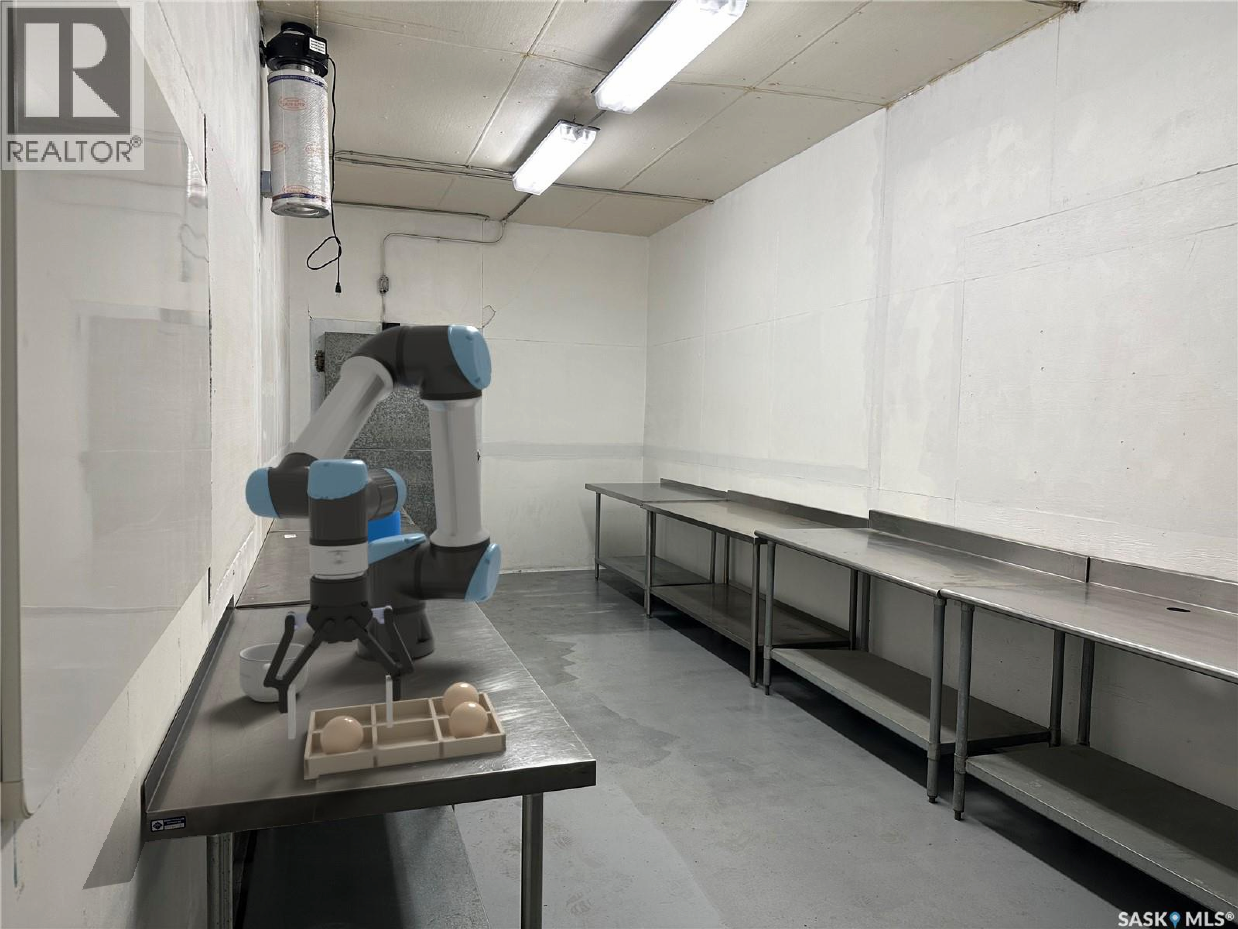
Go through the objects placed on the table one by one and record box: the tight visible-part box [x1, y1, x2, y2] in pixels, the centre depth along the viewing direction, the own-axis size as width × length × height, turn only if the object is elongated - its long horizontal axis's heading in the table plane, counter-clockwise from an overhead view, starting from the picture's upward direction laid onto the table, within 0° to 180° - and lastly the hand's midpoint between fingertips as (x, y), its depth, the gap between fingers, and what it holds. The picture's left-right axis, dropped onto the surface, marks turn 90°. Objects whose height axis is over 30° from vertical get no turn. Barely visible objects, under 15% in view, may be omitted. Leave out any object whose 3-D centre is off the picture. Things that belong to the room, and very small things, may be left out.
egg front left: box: [449, 702, 488, 739], centre depth 112 cm, size 6×6×6 cm
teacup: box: [238, 642, 310, 703], centre depth 129 cm, size 14×11×8 cm
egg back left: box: [442, 681, 479, 716], centre depth 120 cm, size 6×6×6 cm
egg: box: [320, 716, 363, 755], centre depth 106 cm, size 6×6×6 cm
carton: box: [303, 691, 507, 781], centre depth 113 cm, size 18×26×3 cm
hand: (341, 729), depth 106 cm, fingers open, 12 cm apart
